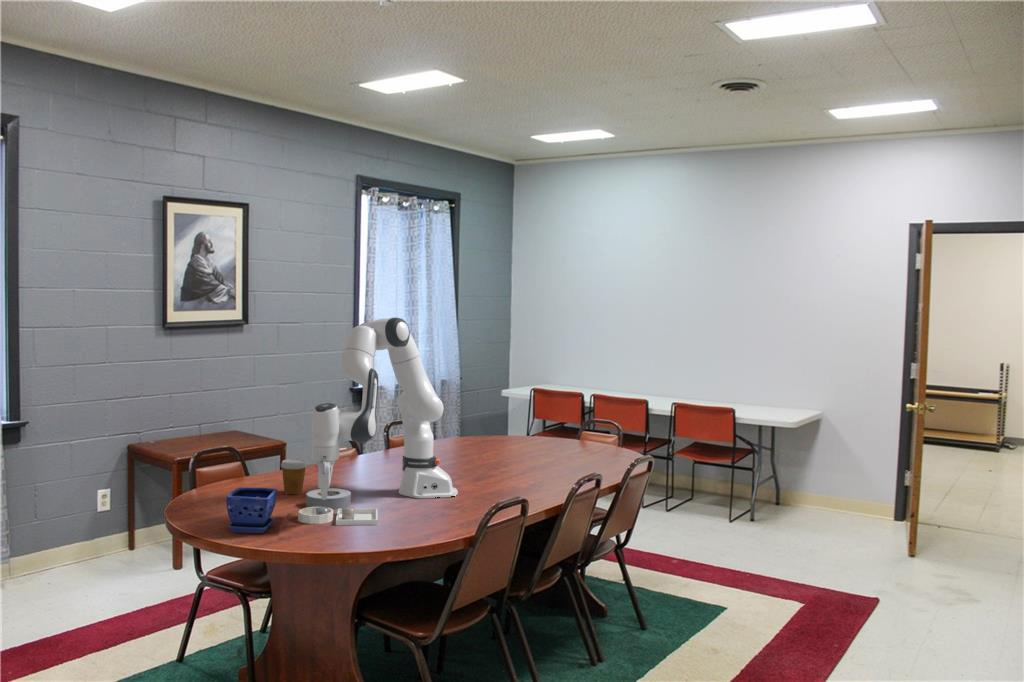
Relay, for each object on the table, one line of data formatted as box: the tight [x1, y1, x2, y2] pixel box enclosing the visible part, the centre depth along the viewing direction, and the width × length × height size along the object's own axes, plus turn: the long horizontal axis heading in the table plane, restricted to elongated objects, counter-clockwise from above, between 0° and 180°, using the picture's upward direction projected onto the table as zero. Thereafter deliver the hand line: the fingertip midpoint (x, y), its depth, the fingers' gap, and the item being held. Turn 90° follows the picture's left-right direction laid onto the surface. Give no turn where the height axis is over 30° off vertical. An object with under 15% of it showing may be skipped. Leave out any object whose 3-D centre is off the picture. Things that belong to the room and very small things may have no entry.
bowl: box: [297, 506, 334, 525], centre depth 273 cm, size 11×11×4 cm
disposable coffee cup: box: [280, 458, 308, 495], centre depth 309 cm, size 10×10×12 cm
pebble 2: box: [342, 506, 355, 520], centre depth 274 cm, size 4×4×4 cm
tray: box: [335, 507, 379, 526], centre depth 275 cm, size 13×15×2 cm
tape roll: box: [305, 487, 352, 511], centre depth 292 cm, size 15×15×5 cm
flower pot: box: [225, 486, 278, 534], centre depth 261 cm, size 13×13×12 cm
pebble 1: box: [316, 507, 328, 515], centre depth 273 cm, size 4×4×4 cm
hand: (325, 495), depth 273 cm, fingers open, 8 cm apart
